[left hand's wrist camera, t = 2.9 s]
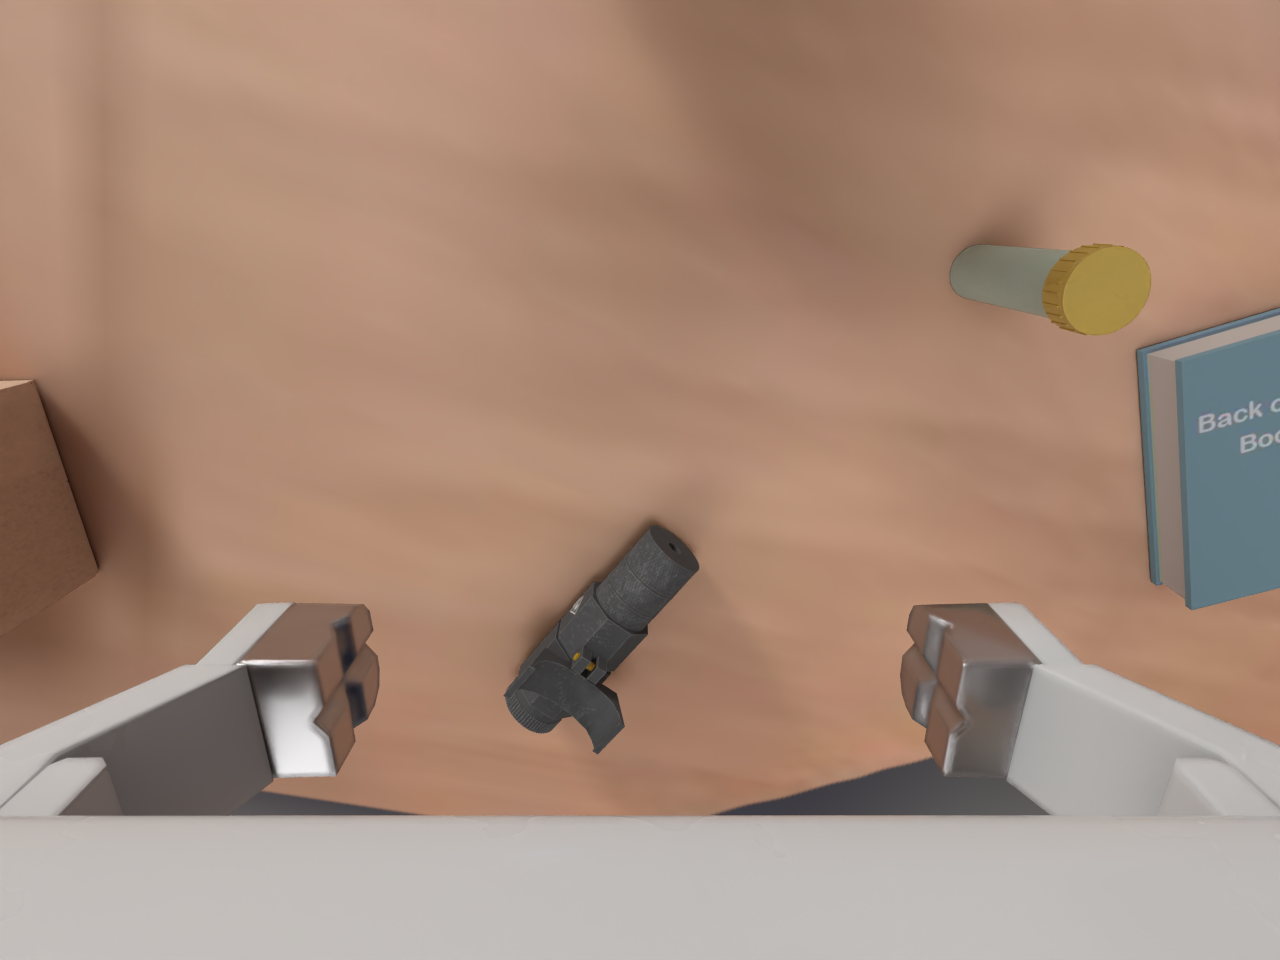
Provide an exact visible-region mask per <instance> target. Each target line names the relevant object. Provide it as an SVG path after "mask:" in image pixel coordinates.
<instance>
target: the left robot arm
mask: <svg viewBox="0 0 1280 960" xmlns="http://www.w3.org/2000/svg"><path fill="white" fill-rule="evenodd" d="M372 632H373V626H372V621H371V616H370V611H369V610H368V609H367V607H366V606H365V605H364V604H326V603H294V602H288V603H263V604H257V605H256V606H255V607H254V608H253V609H252V610H251V611H250V612H249V613H248V614H247V615H246V616H245V617H244V618H243V619H242V620H241V621H240V622H239V623H238V624H237V625H236V626H235V627H234V628H233V629H232V630H231V631H230V632H229V633H228V634H227V635H226V636H225V637H224V638H223V639H222V640H220V641H219V642H218V643H217V644H216V645H215V646H214V647H213V648H212V649H211V650H210V651H209V652H208V653H207V654H206V655H205V656H204V657H203V658H202V659H201V660H200V661H199V662H198V663H197V664H196V665H183V666H181V667H178V668H176V669H174V670H172V671H169V672H167V673H165V674H162V675H160V676H158V677H156V678H153V679H151V680H149V681H146V682H144V683H142V684H140V685H137V686H135V687H133V688H130V689H128V690H126V691H123V692H121V693H119V694H117V695H114V696H112V697H110V698H107V699H105V700H103V701H101V702H98V703H96V704H94V705H91V706H89V707H87V708H85V709H82V710H80V711H78V712H75V713H73V714H71V715H68V716H66V717H64V718H62V719H59V720H57V721H55V722H52V723H50V724H48V725H46V726H43V727H41V728H39V729H36V730H34V731H32V732H29V733H27V734H25V735H23V736H20V737H18V738H16V739H13V740H11V741H9V742H7V743H4V744H2V745H0V960H1280V745H1277V744H1275V743H1273V742H1271V741H1268V740H1266V739H1264V738H1261V737H1259V736H1257V735H1255V734H1252V733H1250V732H1248V731H1246V730H1243V729H1241V728H1239V727H1236V726H1234V725H1232V724H1230V723H1227V722H1225V721H1223V720H1220V719H1218V718H1216V717H1214V716H1211V715H1209V714H1207V713H1204V712H1202V711H1200V710H1198V709H1195V708H1193V707H1191V706H1188V705H1186V704H1184V703H1182V702H1179V701H1177V700H1175V699H1172V698H1170V697H1168V696H1166V695H1163V694H1161V693H1159V692H1156V691H1154V690H1152V689H1150V688H1147V687H1145V686H1143V685H1140V684H1138V683H1136V682H1134V681H1131V680H1129V679H1127V678H1124V677H1122V676H1120V675H1118V674H1115V673H1113V672H1111V671H1108V670H1106V669H1104V668H1102V667H1099V666H1097V665H1084V664H1083V663H1082V662H1081V661H1080V660H1079V659H1078V658H1077V657H1076V656H1075V655H1074V654H1073V653H1072V652H1071V651H1070V650H1069V649H1068V648H1067V647H1066V646H1065V645H1064V644H1063V643H1062V642H1061V641H1060V640H1059V639H1058V638H1057V637H1056V636H1055V635H1054V634H1053V633H1052V632H1051V631H1049V630H1048V629H1047V628H1046V627H1045V626H1044V625H1043V624H1042V623H1041V622H1040V621H1039V620H1038V619H1037V618H1036V617H1035V616H1034V615H1033V614H1032V613H1031V612H1030V611H1029V610H1028V609H1027V608H1026V607H1025V606H1024V605H1022V604H1019V603H1016V602H1007V603H976V604H936V605H915V606H913V608H912V610H911V613H910V615H909V619H908V625H907V632H908V633H909V635H910V636H911V638H912V639H913V641H914V642H915V643H914V644H913V645H912V646H911V647H910V649H909V650H908V651H907V652H906V653H905V654H904V655H903V656H902V664H901V673H900V678H901V689H902V696H903V699H904V702H905V705H906V708H907V710H908V712H909V714H910V716H911V717H912V719H913V720H914V721H916V722H917V723H919V724H920V725H922V726H924V727H925V728H927V729H926V735H925V743H926V745H927V747H928V749H929V750H930V752H931V754H932V756H933V757H934V759H935V761H936V763H937V765H938V766H939V768H940V770H941V772H942V774H943V775H944V776H960V777H996V778H1007V781H1008V782H1009V783H1010V784H1011V785H1013V786H1014V787H1015V788H1017V789H1018V790H1019V791H1020V792H1022V793H1023V794H1024V795H1026V796H1027V797H1028V798H1030V799H1031V800H1032V801H1033V802H1035V803H1036V804H1037V805H1038V806H1040V807H1041V808H1042V809H1044V810H1045V811H1046V812H1047V813H1049V814H1050V815H1051V816H229V815H230V814H231V813H233V812H234V811H235V810H237V809H238V808H239V807H240V806H242V805H243V804H244V803H246V802H247V801H248V800H249V799H251V798H252V797H253V796H255V795H256V794H257V793H258V792H260V791H261V790H262V789H264V788H265V787H266V786H268V785H269V784H270V783H271V782H273V778H283V777H319V776H337V774H338V772H339V770H340V768H341V767H342V765H343V763H344V761H345V759H346V758H347V756H348V754H349V752H350V750H351V749H352V747H353V745H354V743H355V735H354V729H353V728H355V727H356V726H358V725H360V724H361V723H363V722H364V721H366V720H367V719H368V717H369V716H370V714H371V712H372V710H373V708H374V706H375V702H376V698H377V694H378V689H379V671H380V670H379V663H378V656H377V655H376V654H375V653H374V652H373V651H372V650H371V649H370V647H369V646H368V645H367V644H366V643H365V642H366V641H367V639H368V638H369V636H370V635H371V633H372Z"/></svg>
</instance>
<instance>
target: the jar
mask: <svg viewBox="0 0 1280 960" xmlns="http://www.w3.org/2000/svg"><path fill="white" fill-rule="evenodd" d="M1070 251H1071V250H1056V249H1041V248H1027V247H1012V246H997V245H974V246H971V247H969V248H967V249H965V250H964V251H962V252H961V253H960V254H959V255H958V256H957V258H956V259H955V260H954V262H953V264H952V267H951V271H950V282H951V285H952V288H953V289H954V291H955V292H956V293H957V294H958V295H960V296H961V297H963V298H966V299H971V300H975V301H979V302H983V303H988V304H992V305H996V306H1000V307H1005V308H1009V309H1013V310H1017V311H1022V312H1026V313H1030V314H1034V315H1038V316H1043V317H1047V318H1049V317H1048V316H1047V315H1046V314H1045V313H1046V312H1045V310H1044V307H1043V304H1042V303H1043V302H1042V291H1043V286H1044V283H1045V279H1046V278H1047V275H1048V273H1049V272H1050V269H1051V268H1052V267H1053V266H1054V265H1055V264H1056V263H1057V262H1058V261H1059V259H1060V258H1062V257H1063V256H1064V255H1066V254H1067V253H1069V252H1070Z"/></svg>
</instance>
